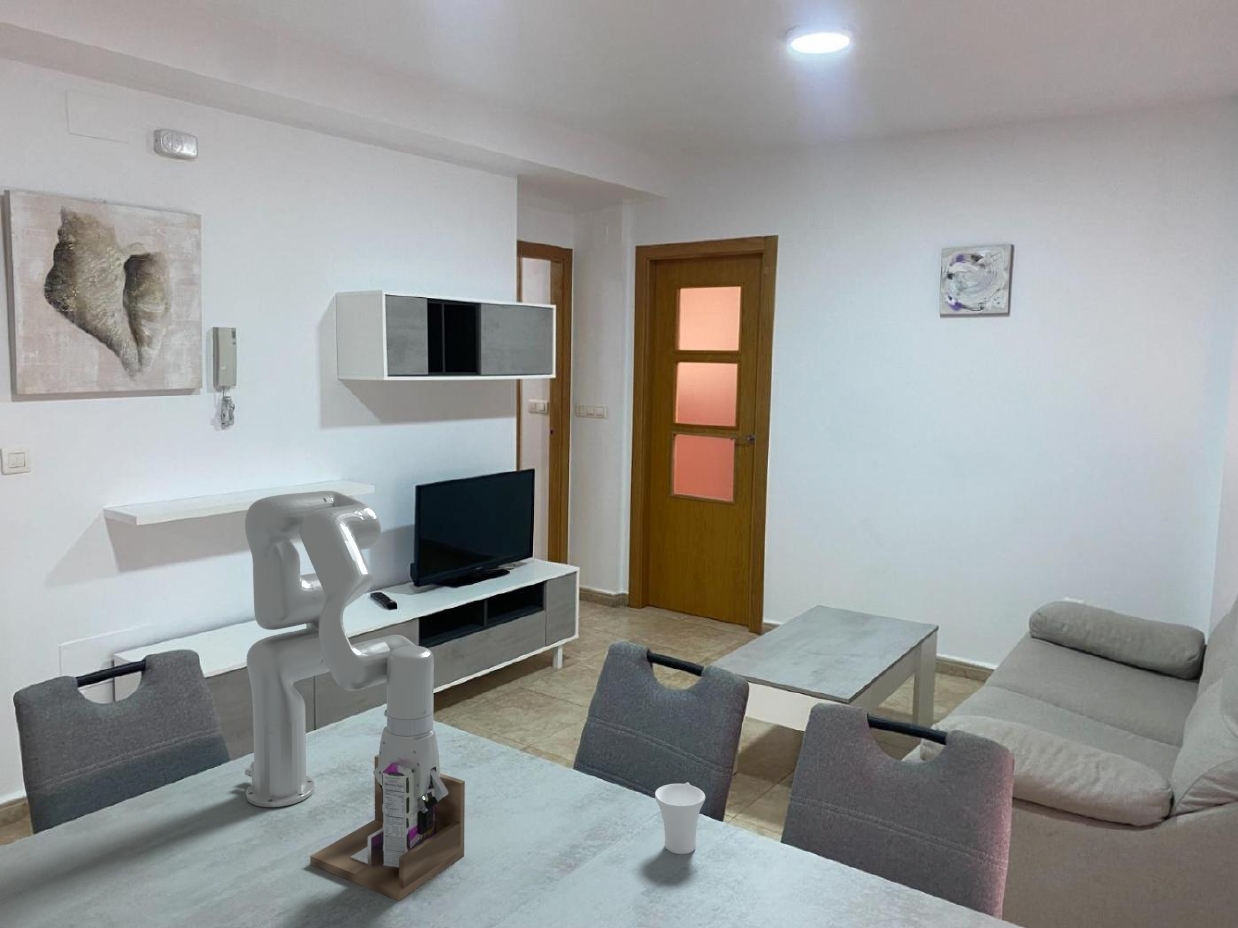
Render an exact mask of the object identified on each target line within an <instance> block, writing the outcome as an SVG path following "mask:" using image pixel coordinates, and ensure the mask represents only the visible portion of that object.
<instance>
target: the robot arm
mask: <svg viewBox="0 0 1238 928" xmlns="http://www.w3.org/2000/svg"><path fill="white" fill-rule="evenodd" d="M244 520H245V521H244V530H245V535H246V540H247V544H248V546H249V549H250V553H251V554H250V555H251V557H252V558H251V559H252V582H253V586H252V587H253V611H254V618H255V621H256V623H257V625H258V626H259V627H260V628H262V629H264V630H268V631H269V630H270V631H274V630H275V631H276V630H281V629H287V628H291V627H292V628H293V627H297V626H302V625H306V628H301V629H299V630H294V631H287V632H284V633H277V634H275V635H269V636H267V637H264V638H261V639H259V640H258V641H256V642H255V643H254V644H252V645H251V646H250V648H249V649H248V651H247V654H246V668H247V673H248V677H249V682H250V688H251V698H252V719H253V720H252V723H253V724H252V725H253V728H252V729H253V761H252V762H251V764H250V765H249V767H248V768H246V769H245V771H244V775H245V776H247V777H250V778H251V784H250V785H249V786H248V787H247V789H246V791H245V797H246V800H247V802H248V803H250V804H251V805H254V806H257V807H260V808H261V807H262V808H281V807H286V806H291V805H295V804H297V803H300V802H301V801H302V802H303V801H304V800H306V799H307V798H309V797H310V796H311V795H312V794H313V793H314V791H315V781H314V780H313V779H312V778H311V777H309V776H308V775H307V747H306V746H307V745H306V743H307V741H306V740H307V739H306V737H307V735H306V734H307V733H306V726H307V725H306V703H305V700H304V698H303V696H302V694H300V692H299V691H298V690H296V688H295V685H294V683H296V682H298V681H301V680H303V679H309V678H312V677H316V676H319V675H323V674H326V673H328V672H330V674H331V676H332V678H333V680H334V681H335V682H336V684H337V685H338V686H339V687H340V688H342V689H343V690H344V691H348V692H356V691H360V690H365V689H369V688H371V687H374V686H377V685H381V684H386V709H385V711H384V713H383V715H384V717H385V718H386V726H384V727H383V730H382V733H381V737H380V742H379V749H378V754H379V759H378V767H377V768H376V769H375V768H374V770H372V771H373V776H374V778H375V777H376V779H377V781H378V782H379V786H380V787H381V789H382V772H383V771H384V770H385V769H386V768H387V767H388V766H389V765H390V764H392V763H393V764H398V765H401V766H404V767H407V768H409V769H413V770H414V797H415V798H418V803H419V806H420V809H421V810H420V811H418V834H419V835H422V834H424V833H426V832H427V831H429V830H430V829H432V828H433V807H435V806H436V805H437V804H438V803H439V802H440V801H441V800H442V799H443V798H444V797H446V796H447V795H448V790H447V789H446V787H445V785H444V784H443V782H442V781H441V779H440V774H441V772H440V771H441V766H440V765H441V764H440V753H439V751H440V750H439V744H438V738H437V733H436V731H435V730H434V689H435V688H434V684H435V683H434V682H435V681H434V679H435V677H434V673H435V672H434V670H435V669H434V662H435V661H434V660H435V659H434V654H433V652H432V651H431V650H430V649H428V648H427V647H425V646H421V645H419V646H418V645H416V644H415V643H414V642H412V641H411V640H410V639H408V638H407V637H405V636H404V635H401V634H391V635H386V636H382V637H378V638H373V639H368V640H365V641H361V642H358V643H352V644H351V642H350V640H349V637H348V635H347V633H346V629H345V626H344V622H343V621H344V620H343V619H344V617H343V616H344V612H345V609H346V608H347V607H348V606H349V605H351V604H352V603H354V602H355V601H357V600H358V599H360V598H361V597H362V596H363V595H364V594H366V593H367V592H368V591H369V590H370V588H371V587H372V585H373V583H374V577H373V574H372V571H371V569H370V568H369V565H368V562H367V561H366V559H365V557H364V555H363V552H362V551H363V550H368V549H371V548H373V547H375V546H377V544H378V543H379V541H380V539H381V536H382V525H381V523H380V519H379V518H378V516H377V514H376V513H375V511H374V510H373V509H372V508H371V507H370V506H368V505H367V504H366V503H363V502H361V501H360V500H358V499H355V498H353V497H350V496H347V495H345V494H343V493H341V492H338V491H334V490H318V491H311V492H310V491H309V492H296V493H295V492H293V493H286V494H278V495H277V494H276V495H272V496H270V495H269V496H267V497H263V498H260V499H258V500H256V501H254V502H253V503H252V504H250V506H249V507H248V509H247V511H246V514H245V518H244ZM296 539H301V542H302V544H303V546H304V549H305V551H306V553H307V556H308V558H309V560H310V562H311V565H312V567H313V569H314V571H315V572H313V573H307V574H301V557H300V553H299V551H298V550H297V549H298V548H297V547H296V546H295V545H294V543H293V542H292V541H291V540H296ZM433 789H434V790H435V794H434V791H433ZM426 794H427V797H428V801H427V802H426V800H425V796H424V795H426Z"/></svg>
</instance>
